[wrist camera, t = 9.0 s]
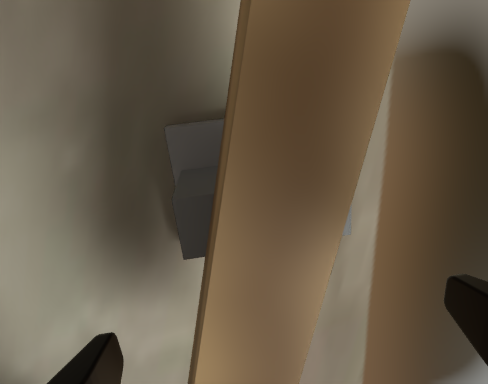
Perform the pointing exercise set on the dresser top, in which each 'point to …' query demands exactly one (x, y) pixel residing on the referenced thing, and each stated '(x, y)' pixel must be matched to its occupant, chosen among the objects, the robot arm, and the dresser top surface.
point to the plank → (287, 178)
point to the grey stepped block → (197, 181)
